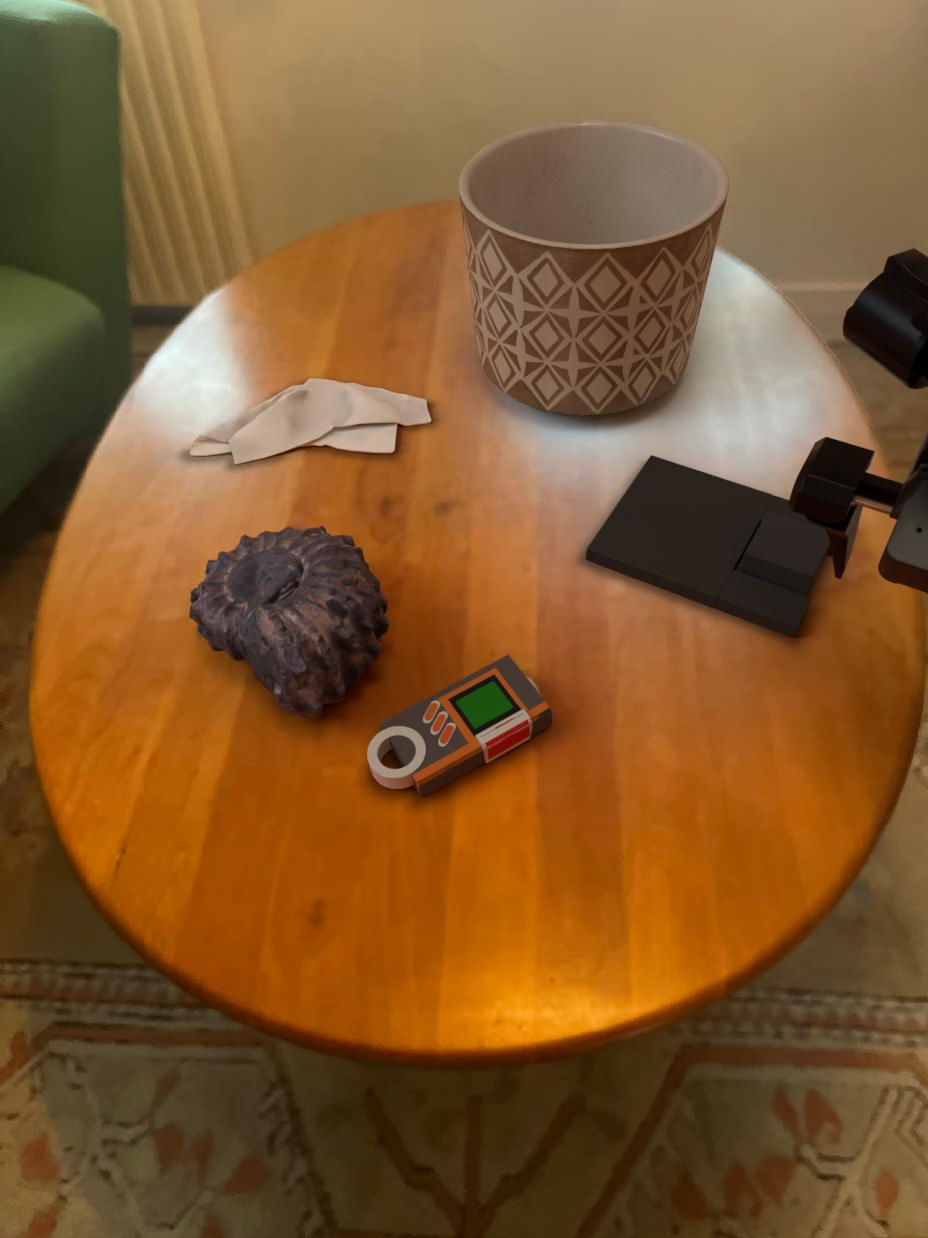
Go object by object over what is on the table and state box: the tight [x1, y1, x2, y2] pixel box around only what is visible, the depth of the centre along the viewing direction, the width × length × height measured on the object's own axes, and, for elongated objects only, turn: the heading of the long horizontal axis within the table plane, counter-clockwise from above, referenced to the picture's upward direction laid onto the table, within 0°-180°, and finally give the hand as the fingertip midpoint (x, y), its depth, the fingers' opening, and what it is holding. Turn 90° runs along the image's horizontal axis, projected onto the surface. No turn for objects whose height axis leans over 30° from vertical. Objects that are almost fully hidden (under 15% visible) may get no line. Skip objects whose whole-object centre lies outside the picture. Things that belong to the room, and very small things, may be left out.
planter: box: [458, 119, 730, 416], centre depth 101 cm, size 26×26×22 cm
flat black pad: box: [585, 455, 832, 639], centre depth 90 cm, size 20×15×2 cm
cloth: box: [189, 377, 432, 466], centre depth 104 cm, size 26×14×2 cm, turn 91°
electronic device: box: [366, 654, 553, 798], centre depth 77 cm, size 7×3×15 cm
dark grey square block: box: [739, 510, 830, 597], centre depth 87 cm, size 6×6×4 cm
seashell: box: [188, 525, 390, 718], centre depth 81 cm, size 20×13×15 cm
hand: (902, 596), depth 70 cm, fingers open, 9 cm apart
